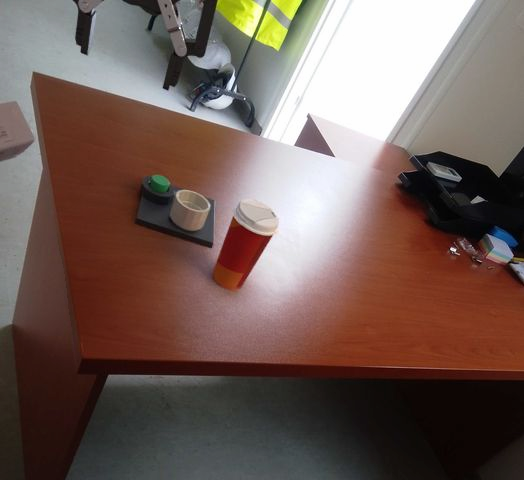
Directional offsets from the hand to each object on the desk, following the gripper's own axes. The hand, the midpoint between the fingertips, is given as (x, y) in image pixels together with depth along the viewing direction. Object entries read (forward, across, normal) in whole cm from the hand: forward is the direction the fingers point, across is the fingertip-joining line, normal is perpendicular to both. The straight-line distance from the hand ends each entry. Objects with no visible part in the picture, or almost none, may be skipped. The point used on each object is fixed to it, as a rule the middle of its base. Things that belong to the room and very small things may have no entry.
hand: (127, 70), depth 49 cm
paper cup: (+28, +22, +7) cm, 37 cm away
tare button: (+25, +7, +24) cm, 36 cm away
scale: (+28, +12, +22) cm, 38 cm away
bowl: (+27, +14, +18) cm, 35 cm away
